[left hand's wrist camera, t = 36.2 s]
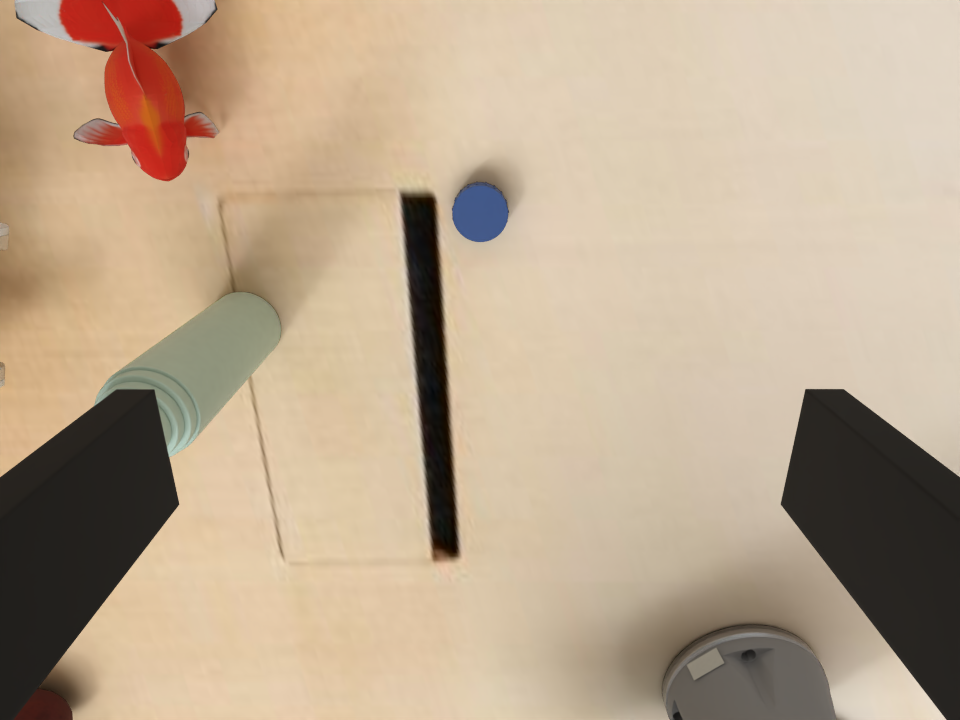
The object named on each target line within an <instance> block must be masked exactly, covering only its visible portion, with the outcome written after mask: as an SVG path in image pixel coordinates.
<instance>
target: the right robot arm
mask: <svg viewBox="0 0 960 720" xmlns="http://www.w3.org/2000/svg"><path fill="white" fill-rule="evenodd" d="M8 242H9V225H7V224H4V223H1V222H0V250H7V249H8ZM4 383H5V364H4V363H2V362H0V387H2V386H4Z"/></svg>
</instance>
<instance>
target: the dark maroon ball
mask: <svg viewBox="0 0 960 720" xmlns="http://www.w3.org/2000/svg"><path fill="white" fill-rule="evenodd" d="M14 720H73V717H72V711H71V709H70V707H69V705H68V703H67V702H66V700H65V699H63V698H62V697H61V696H59V695H58V694H56V693H54V692H52V691H48V690H43V689H38V688H37V690H36V691H35V692H34V694H33V695H32V696H31V698H30V699H29V700H28V701H27V703H26V704H25V705H24V707H23V708H22V709H21V711H20V712H19V713H18V714H17V716H16V717H15V718H14Z"/></svg>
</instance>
